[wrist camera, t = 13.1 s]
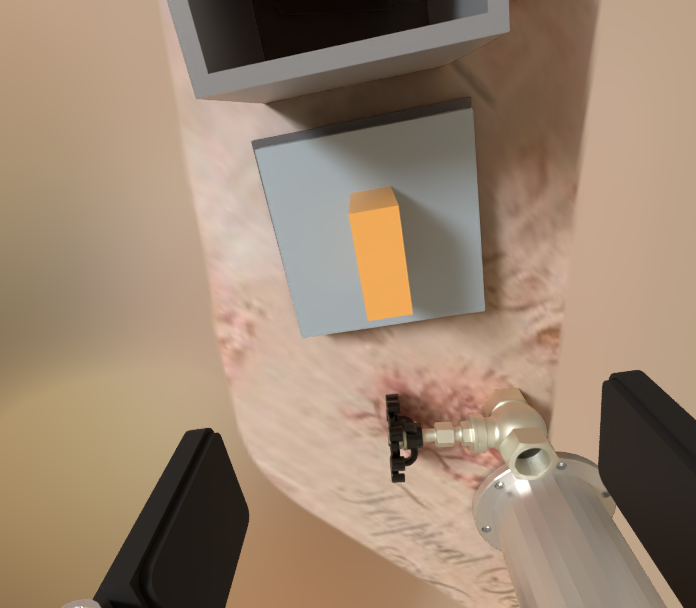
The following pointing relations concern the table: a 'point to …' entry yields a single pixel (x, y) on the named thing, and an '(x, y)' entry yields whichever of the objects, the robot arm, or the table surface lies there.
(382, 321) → the lid
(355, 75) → the tub
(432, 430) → the valve
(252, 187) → the table surface
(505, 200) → the table surface
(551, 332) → the table surface
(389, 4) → the battery charger
